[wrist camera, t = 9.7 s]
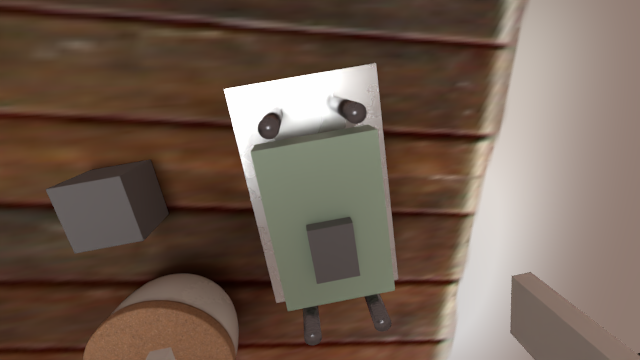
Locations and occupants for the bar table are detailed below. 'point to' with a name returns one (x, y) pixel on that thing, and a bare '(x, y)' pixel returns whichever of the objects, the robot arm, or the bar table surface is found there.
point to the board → (326, 215)
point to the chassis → (300, 120)
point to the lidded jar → (169, 322)
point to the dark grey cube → (109, 206)
